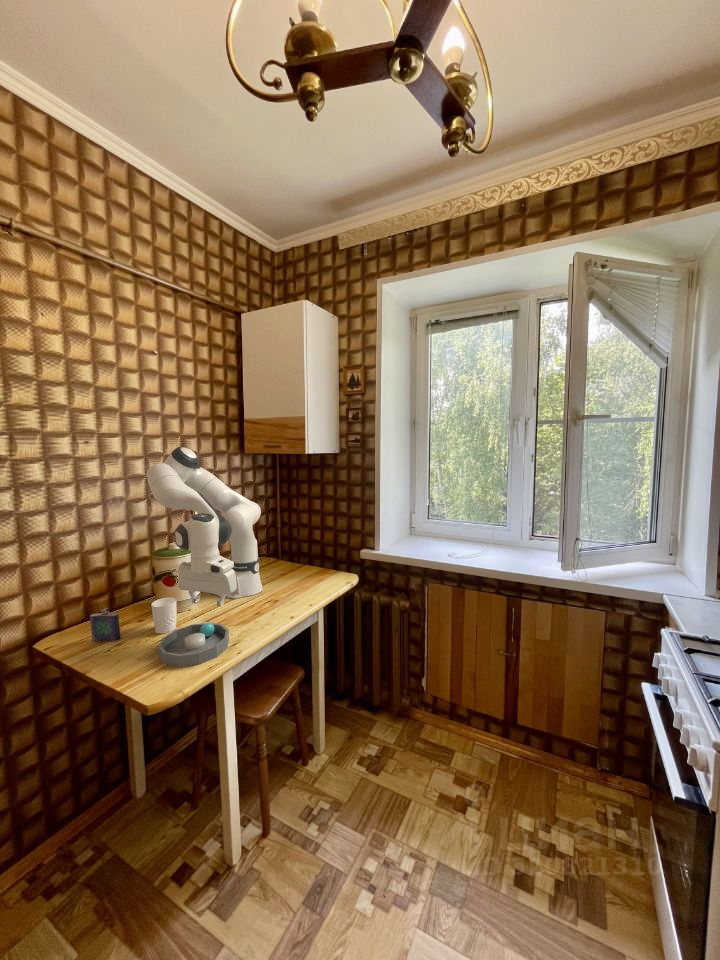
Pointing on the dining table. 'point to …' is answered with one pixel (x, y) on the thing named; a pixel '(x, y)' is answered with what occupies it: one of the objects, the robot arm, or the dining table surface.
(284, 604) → the dining table surface
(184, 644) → the ring tray
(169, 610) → the white cup
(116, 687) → the dining table surface
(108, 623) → the flask
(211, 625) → the bead
